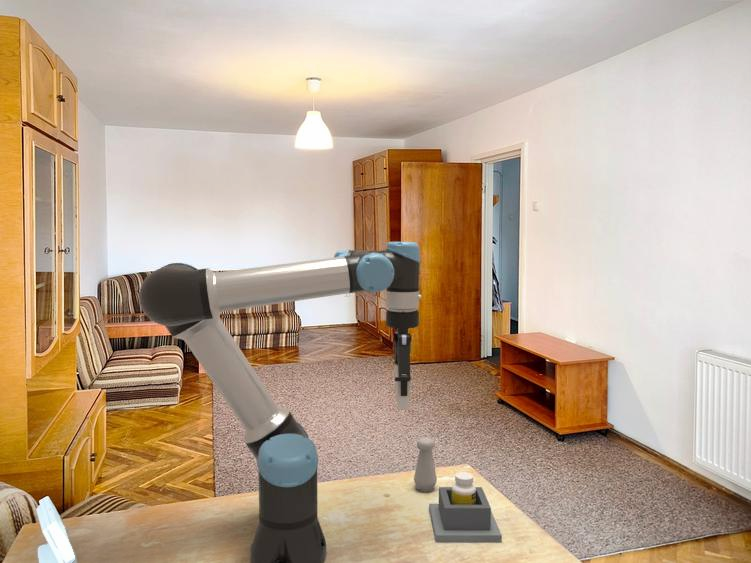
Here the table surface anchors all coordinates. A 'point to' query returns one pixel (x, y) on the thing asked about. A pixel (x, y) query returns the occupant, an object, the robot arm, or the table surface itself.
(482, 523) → the socket board
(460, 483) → the supplement bottle
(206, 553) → the table surface
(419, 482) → the salt shaker
